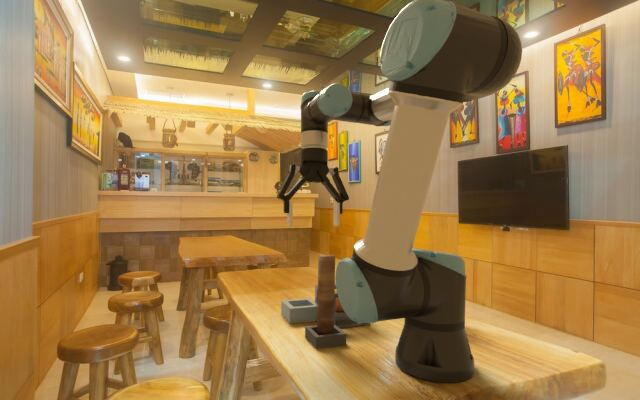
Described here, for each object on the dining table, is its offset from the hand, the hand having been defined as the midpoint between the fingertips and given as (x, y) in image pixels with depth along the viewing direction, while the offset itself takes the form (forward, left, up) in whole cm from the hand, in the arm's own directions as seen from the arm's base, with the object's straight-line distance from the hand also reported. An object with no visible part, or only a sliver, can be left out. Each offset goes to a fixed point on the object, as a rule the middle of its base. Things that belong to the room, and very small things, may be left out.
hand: (313, 226), depth 97 cm
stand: (-13, +1, -26) cm, 29 cm away
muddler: (-13, +1, -26) cm, 29 cm away
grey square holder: (+6, +1, -26) cm, 27 cm away
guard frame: (0, -9, -26) cm, 28 cm away
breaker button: (0, -9, -24) cm, 25 cm away
